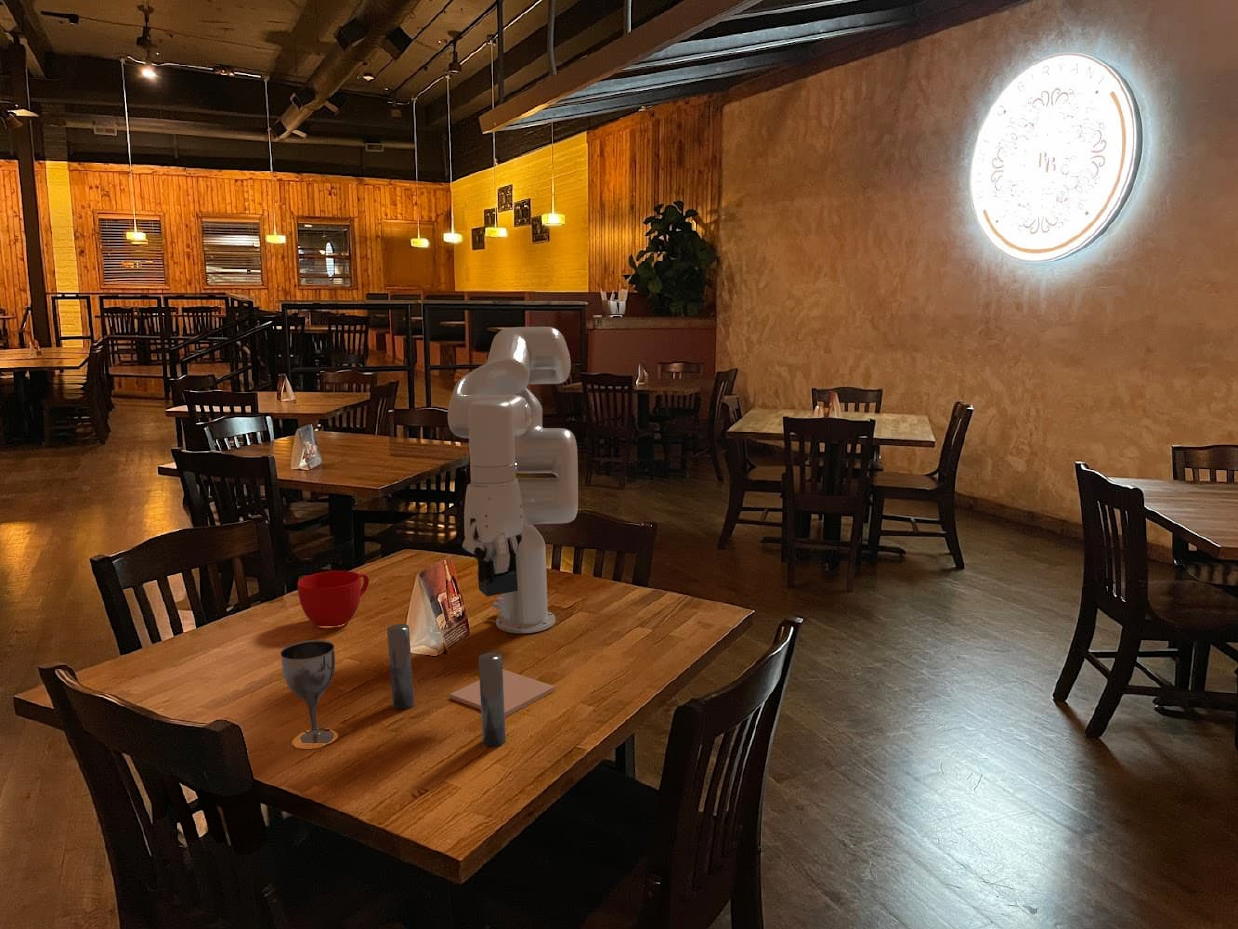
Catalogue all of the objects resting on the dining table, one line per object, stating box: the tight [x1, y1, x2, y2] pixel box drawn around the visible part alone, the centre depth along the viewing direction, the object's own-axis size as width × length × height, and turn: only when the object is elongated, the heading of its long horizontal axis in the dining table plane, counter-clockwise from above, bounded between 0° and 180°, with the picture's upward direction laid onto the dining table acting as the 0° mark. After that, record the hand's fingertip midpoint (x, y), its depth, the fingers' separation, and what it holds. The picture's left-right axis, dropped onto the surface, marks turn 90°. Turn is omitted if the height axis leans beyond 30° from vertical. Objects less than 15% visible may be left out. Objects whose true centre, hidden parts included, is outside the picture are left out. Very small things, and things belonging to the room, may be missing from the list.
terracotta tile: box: [449, 669, 556, 718], centre depth 156 cm, size 13×13×1 cm
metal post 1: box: [386, 623, 415, 711], centre depth 151 cm, size 4×4×14 cm
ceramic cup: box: [297, 570, 370, 627], centre depth 194 cm, size 13×17×10 cm
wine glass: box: [280, 639, 336, 744], centre depth 140 cm, size 8×8×15 cm
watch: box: [475, 533, 518, 597], centre depth 152 cm, size 6×8×11 cm
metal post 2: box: [478, 652, 507, 748], centre depth 138 cm, size 4×4×14 cm
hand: (497, 577), depth 152 cm, fingers closed on watch, 4 cm apart
